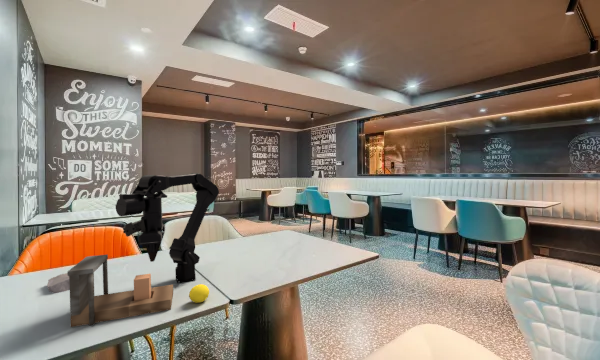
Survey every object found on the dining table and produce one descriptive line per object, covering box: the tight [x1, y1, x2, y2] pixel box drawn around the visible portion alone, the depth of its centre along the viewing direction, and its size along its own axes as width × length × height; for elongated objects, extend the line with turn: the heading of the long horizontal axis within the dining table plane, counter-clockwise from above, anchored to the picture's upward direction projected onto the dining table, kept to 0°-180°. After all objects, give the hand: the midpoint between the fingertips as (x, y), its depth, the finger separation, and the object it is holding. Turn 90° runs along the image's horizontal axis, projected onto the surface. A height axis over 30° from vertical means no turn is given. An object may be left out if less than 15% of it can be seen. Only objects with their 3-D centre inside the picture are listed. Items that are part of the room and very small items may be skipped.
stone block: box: [46, 272, 70, 294], centre depth 100 cm, size 12×5×10 cm
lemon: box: [188, 283, 210, 304], centre depth 86 cm, size 7×5×5 cm
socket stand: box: [66, 254, 174, 328], centre depth 82 cm, size 24×14×15 cm, turn 112°
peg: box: [133, 273, 152, 301], centre depth 84 cm, size 4×4×9 cm
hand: (153, 257), depth 93 cm, fingers open, 9 cm apart
